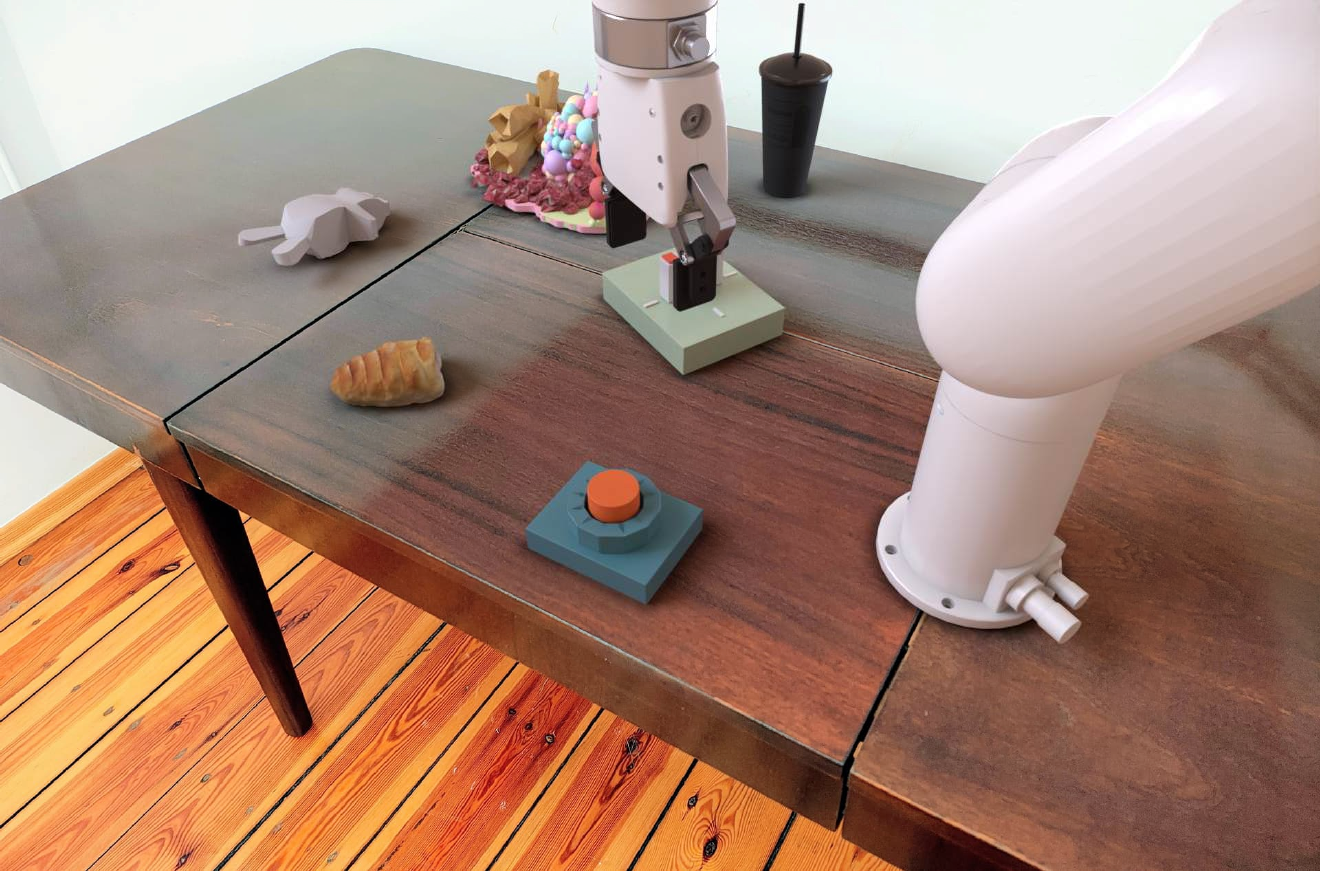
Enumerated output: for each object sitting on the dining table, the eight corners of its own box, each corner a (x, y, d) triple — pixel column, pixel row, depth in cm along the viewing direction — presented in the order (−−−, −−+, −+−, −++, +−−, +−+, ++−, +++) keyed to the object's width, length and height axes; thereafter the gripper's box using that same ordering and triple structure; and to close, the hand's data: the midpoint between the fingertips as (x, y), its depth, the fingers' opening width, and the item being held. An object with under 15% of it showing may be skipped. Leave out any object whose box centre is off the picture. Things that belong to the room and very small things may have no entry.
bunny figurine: (405, 194, 97) (284, 241, 87) (410, 239, 100) (294, 289, 90) (344, 170, 101) (222, 212, 91) (351, 214, 104) (233, 259, 94)
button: (649, 498, 66) (649, 480, 65) (622, 531, 64) (621, 514, 62) (606, 479, 67) (605, 462, 66) (578, 511, 65) (576, 494, 64)
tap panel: (782, 334, 86) (785, 306, 84) (683, 375, 82) (683, 346, 79) (697, 265, 95) (697, 237, 92) (603, 298, 90) (601, 271, 88)
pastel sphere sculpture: (434, 198, 105) (419, 119, 98) (541, 117, 120) (535, 44, 114) (633, 249, 97) (630, 166, 91) (720, 155, 112) (723, 78, 106)
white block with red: (712, 275, 88) (714, 235, 85) (722, 283, 87) (724, 243, 84) (659, 295, 85) (658, 255, 82) (668, 303, 84) (668, 263, 81)
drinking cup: (829, 182, 107) (853, -1, 94) (799, 210, 102) (820, 22, 89) (770, 166, 110) (784, -14, 97) (738, 192, 106) (749, 8, 92)
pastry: (337, 423, 77) (326, 388, 75) (332, 375, 82) (321, 340, 79) (451, 400, 79) (443, 364, 77) (439, 354, 84) (432, 319, 81)
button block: (702, 529, 68) (704, 491, 66) (646, 605, 63) (645, 568, 61) (589, 480, 72) (586, 442, 69) (527, 548, 67) (522, 511, 64)
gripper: (789, 64, 53) (769, 314, 64) (639, -17, 64) (645, 209, 75) (675, 93, 50) (676, 349, 61) (539, 2, 61) (561, 234, 72)
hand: (659, 271), depth 68 cm, fingers open, 9 cm apart
